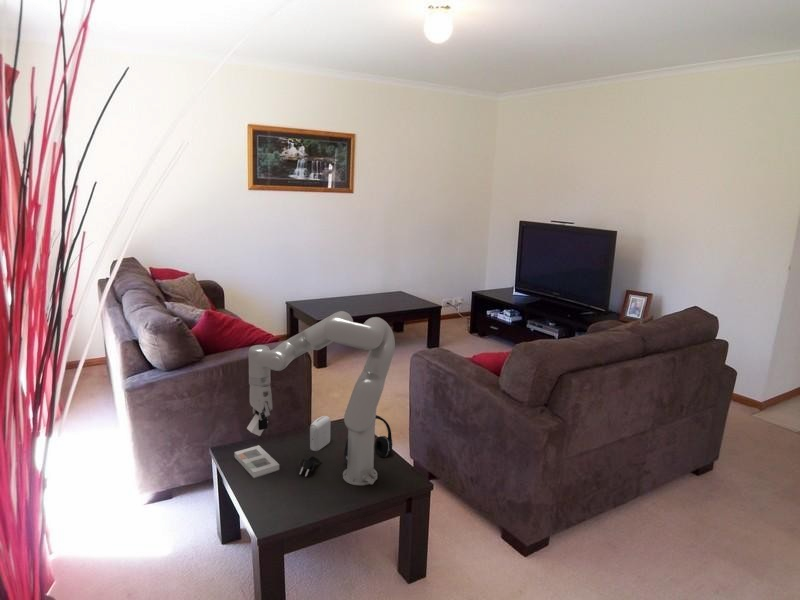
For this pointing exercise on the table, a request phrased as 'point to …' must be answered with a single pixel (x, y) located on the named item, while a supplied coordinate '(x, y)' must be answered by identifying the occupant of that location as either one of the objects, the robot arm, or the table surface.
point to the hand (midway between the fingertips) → (260, 426)
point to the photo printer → (319, 433)
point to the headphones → (378, 443)
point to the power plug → (308, 463)
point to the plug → (255, 425)
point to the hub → (256, 461)
